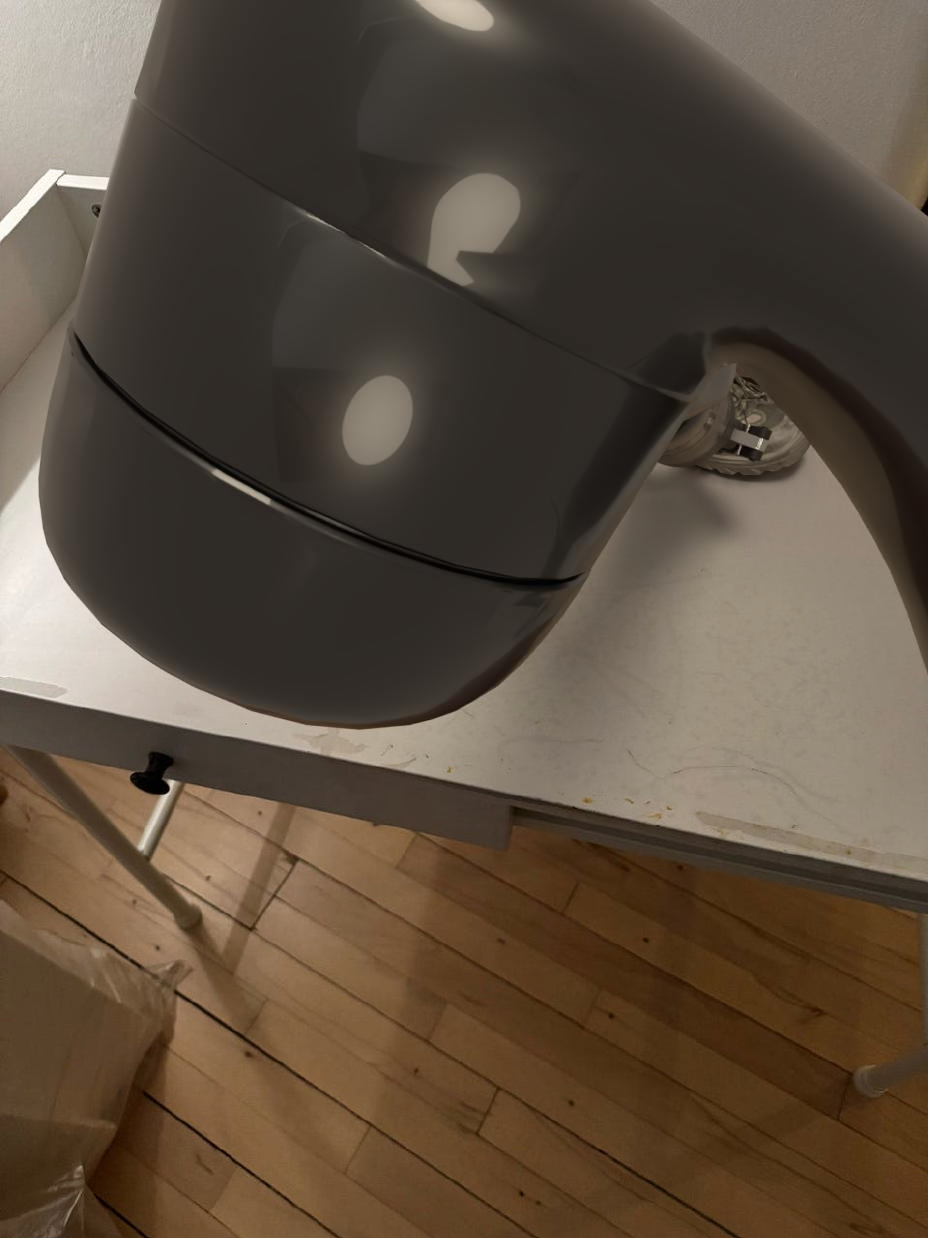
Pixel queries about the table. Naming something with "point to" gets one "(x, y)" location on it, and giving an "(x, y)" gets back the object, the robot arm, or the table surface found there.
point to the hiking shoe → (761, 411)
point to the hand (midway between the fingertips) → (702, 432)
